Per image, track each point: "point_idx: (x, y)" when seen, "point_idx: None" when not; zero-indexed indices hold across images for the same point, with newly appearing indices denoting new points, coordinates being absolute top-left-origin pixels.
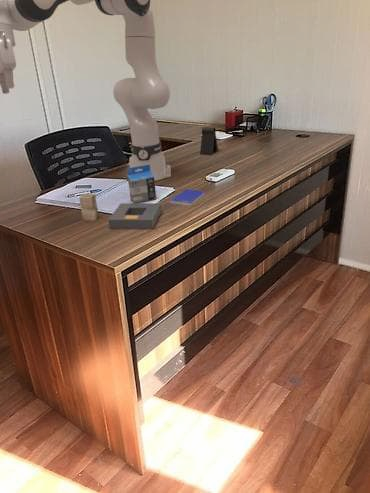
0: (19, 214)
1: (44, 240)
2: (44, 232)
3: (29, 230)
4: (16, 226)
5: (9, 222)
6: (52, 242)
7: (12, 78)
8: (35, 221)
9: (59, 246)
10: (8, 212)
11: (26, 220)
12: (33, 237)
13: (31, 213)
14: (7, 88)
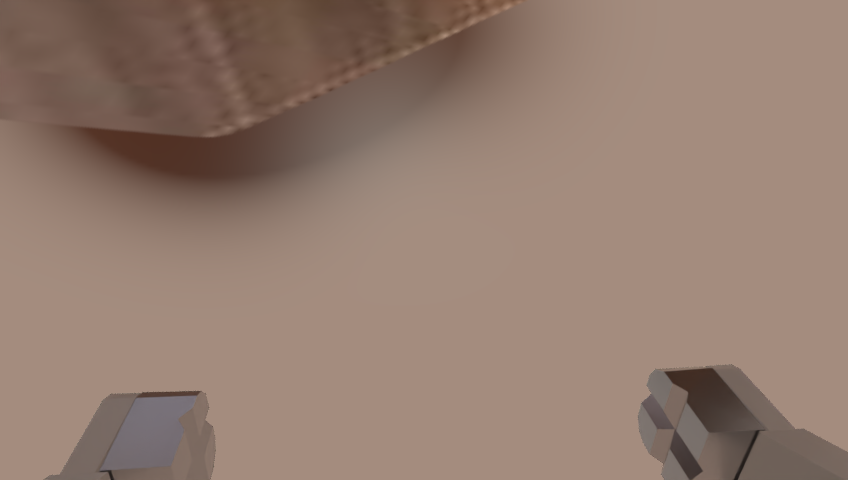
0: (100, 66)
1: (434, 37)
2: (370, 19)
3: (317, 64)
4: (247, 100)
5: (185, 117)
6: (466, 18)
7: (843, 462)
8: (234, 22)
9: (508, 6)
10: (42, 106)
11: (200, 53)
12: (387, 64)
13: (114, 14)
14: (184, 454)
